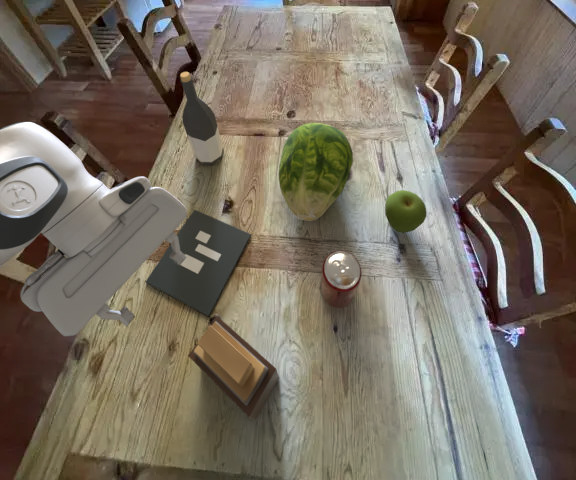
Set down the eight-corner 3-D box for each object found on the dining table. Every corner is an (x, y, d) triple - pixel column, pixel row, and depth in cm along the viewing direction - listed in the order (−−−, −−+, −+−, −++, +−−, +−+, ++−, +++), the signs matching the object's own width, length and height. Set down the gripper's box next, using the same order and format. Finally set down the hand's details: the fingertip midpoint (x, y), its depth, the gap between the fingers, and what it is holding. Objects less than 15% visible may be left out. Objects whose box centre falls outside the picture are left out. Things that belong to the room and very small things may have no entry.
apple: (422, 220, 81) (435, 195, 73) (410, 250, 77) (422, 227, 68) (388, 201, 85) (397, 176, 77) (374, 229, 80) (382, 205, 72)
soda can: (316, 302, 70) (318, 283, 61) (324, 266, 75) (327, 244, 66) (351, 314, 68) (358, 296, 60) (357, 277, 73) (364, 255, 65)
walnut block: (256, 420, 57) (248, 417, 50) (201, 366, 63) (187, 355, 55) (279, 378, 61) (276, 368, 54) (226, 330, 67) (216, 315, 59)
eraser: (247, 406, 51) (240, 402, 45) (195, 354, 55) (183, 344, 50) (268, 369, 54) (264, 361, 48) (217, 323, 58) (208, 310, 53)
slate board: (209, 317, 68) (208, 316, 68) (146, 283, 73) (145, 281, 73) (251, 235, 80) (251, 234, 79) (194, 210, 85) (194, 208, 84)
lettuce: (254, 210, 76) (325, 201, 66) (269, 120, 89) (330, 101, 79) (301, 231, 87) (368, 226, 77) (308, 148, 100) (366, 135, 90)
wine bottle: (229, 148, 98) (210, 68, 77) (213, 170, 93) (188, 90, 72) (206, 139, 101) (181, 59, 80) (189, 160, 96) (158, 80, 75)
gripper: (8, 298, 38) (95, 374, 41) (153, 168, 50) (214, 234, 53) (12, 286, 43) (90, 354, 46) (144, 171, 55) (199, 231, 58)
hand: (157, 289), depth 49 cm, fingers open, 8 cm apart
